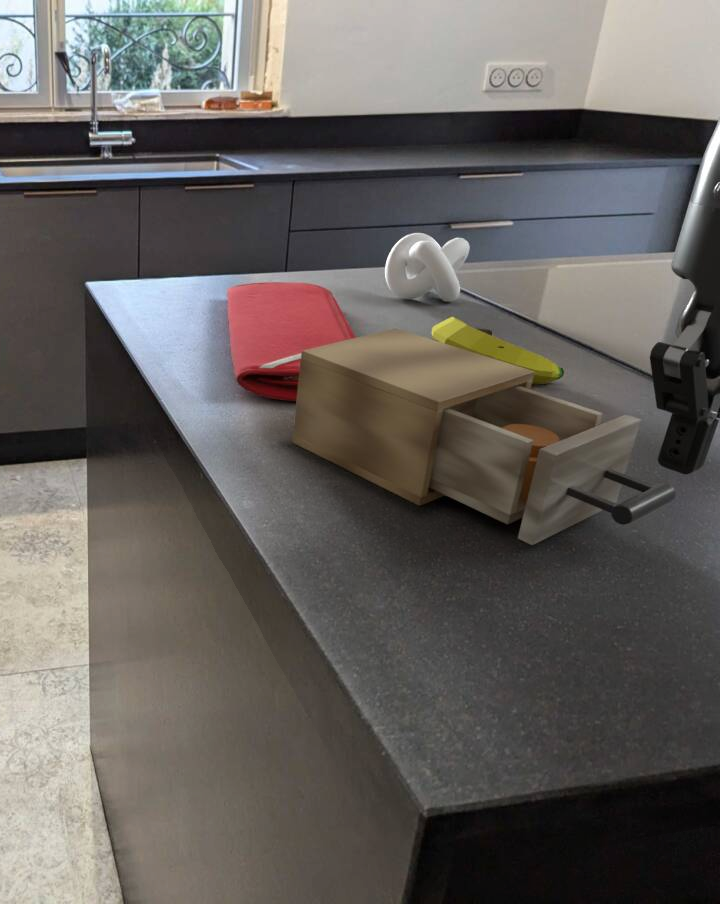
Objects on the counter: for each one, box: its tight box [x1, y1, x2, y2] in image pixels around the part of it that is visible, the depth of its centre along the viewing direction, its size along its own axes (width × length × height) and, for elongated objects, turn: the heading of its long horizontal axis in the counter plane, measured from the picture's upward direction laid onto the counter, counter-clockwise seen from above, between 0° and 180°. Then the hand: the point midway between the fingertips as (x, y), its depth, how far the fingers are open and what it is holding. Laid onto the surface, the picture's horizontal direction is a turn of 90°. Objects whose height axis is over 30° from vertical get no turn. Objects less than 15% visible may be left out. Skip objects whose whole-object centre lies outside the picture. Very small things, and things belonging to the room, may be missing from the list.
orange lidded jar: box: [502, 424, 559, 500], centre depth 65 cm, size 5×5×4 cm
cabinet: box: [291, 327, 535, 507], centre depth 73 cm, size 15×13×9 cm
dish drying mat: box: [226, 281, 357, 402], centre depth 104 cm, size 16×41×4 cm, turn 174°
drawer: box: [429, 385, 677, 546], centre depth 64 cm, size 18×11×7 cm, turn 33°
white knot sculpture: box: [384, 232, 471, 303], centre depth 124 cm, size 11×12×9 cm
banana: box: [431, 316, 565, 385], centre depth 98 cm, size 5×17×15 cm
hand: (678, 467), depth 55 cm, fingers closed
